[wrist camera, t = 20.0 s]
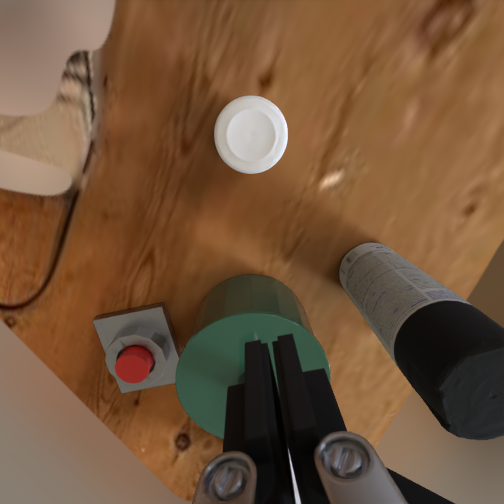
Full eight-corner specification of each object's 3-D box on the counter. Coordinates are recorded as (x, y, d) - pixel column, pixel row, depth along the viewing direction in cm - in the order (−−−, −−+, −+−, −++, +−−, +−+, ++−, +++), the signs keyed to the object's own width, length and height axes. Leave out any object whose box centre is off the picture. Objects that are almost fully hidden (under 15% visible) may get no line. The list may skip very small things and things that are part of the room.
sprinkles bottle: (216, 133, 33) (197, 124, 20) (255, 105, 32) (261, 77, 19) (242, 173, 34) (241, 189, 21) (280, 147, 33) (303, 146, 20)
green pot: (184, 286, 37) (165, 331, 28) (295, 264, 37) (311, 302, 28) (211, 379, 41) (202, 444, 32) (312, 359, 41) (332, 420, 32)
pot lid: (158, 324, 29) (132, 378, 22) (315, 292, 28) (338, 338, 21) (199, 445, 33) (187, 522, 26) (337, 420, 32) (361, 492, 25)
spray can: (346, 304, 38) (445, 459, 19) (329, 252, 37) (421, 366, 17) (402, 285, 38) (562, 425, 19) (388, 231, 36) (551, 325, 17)
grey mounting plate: (96, 315, 38) (84, 329, 35) (164, 301, 38) (157, 314, 35) (124, 386, 41) (115, 404, 38) (187, 374, 41) (183, 391, 38)
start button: (115, 348, 37) (109, 358, 35) (147, 342, 36) (142, 351, 35) (126, 375, 38) (120, 386, 36) (157, 369, 38) (153, 380, 36)
